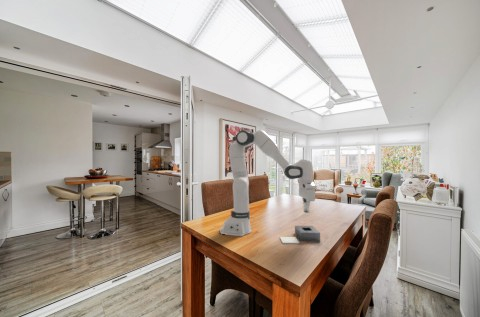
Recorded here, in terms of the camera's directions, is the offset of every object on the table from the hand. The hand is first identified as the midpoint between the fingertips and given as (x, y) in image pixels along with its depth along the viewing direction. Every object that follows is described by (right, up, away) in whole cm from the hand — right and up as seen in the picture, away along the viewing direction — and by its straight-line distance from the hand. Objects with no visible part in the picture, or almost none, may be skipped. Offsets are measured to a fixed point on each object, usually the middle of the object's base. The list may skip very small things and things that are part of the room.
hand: (306, 205), depth 114 cm
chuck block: (0, -20, -1) cm, 20 cm away
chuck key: (0, -4, 0) cm, 4 cm away
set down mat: (-13, -20, -6) cm, 25 cm away
